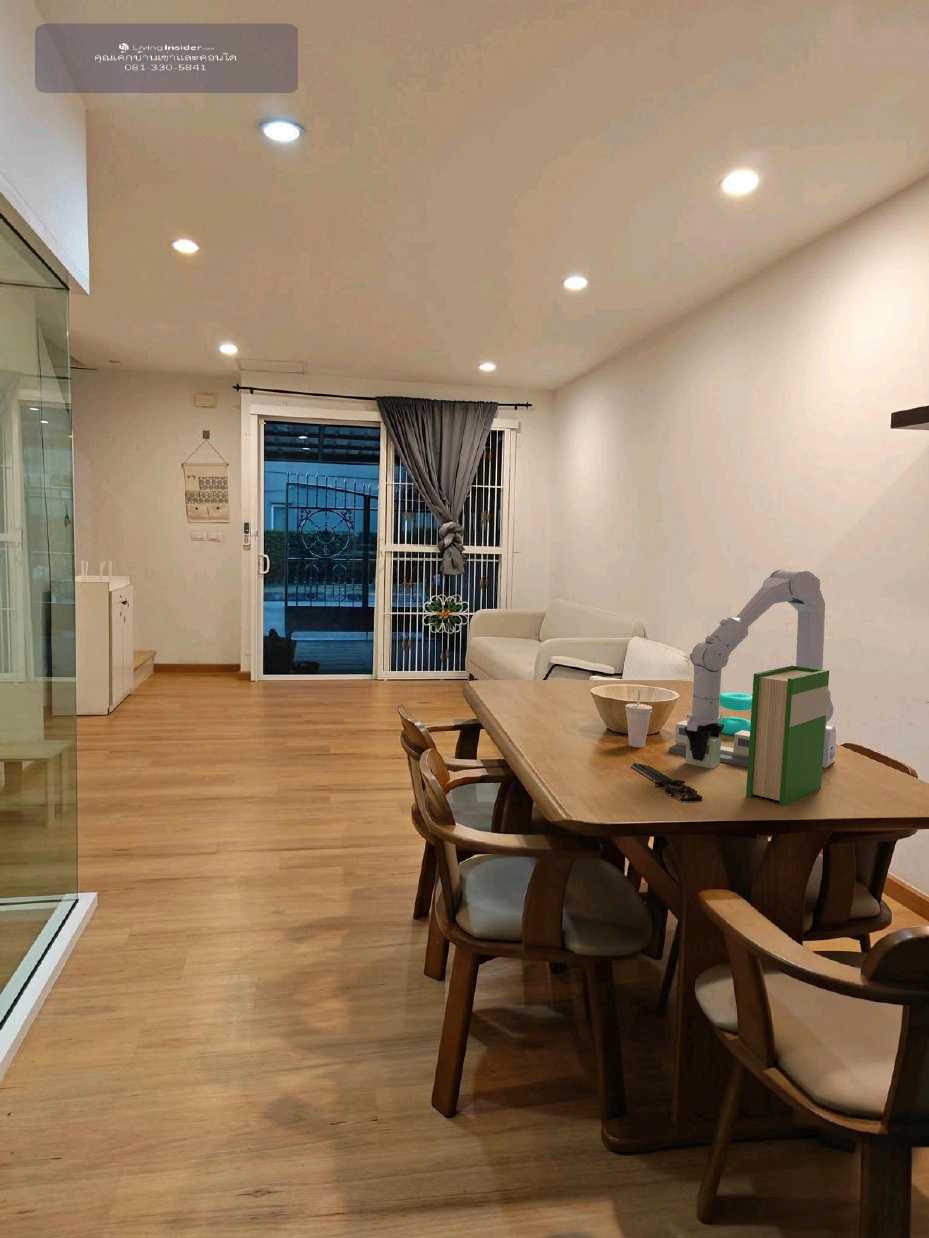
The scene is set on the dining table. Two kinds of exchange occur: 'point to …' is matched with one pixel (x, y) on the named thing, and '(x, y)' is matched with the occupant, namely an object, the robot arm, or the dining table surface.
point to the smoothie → (638, 722)
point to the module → (706, 753)
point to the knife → (664, 781)
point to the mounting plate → (727, 754)
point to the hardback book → (787, 733)
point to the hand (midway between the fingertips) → (702, 757)
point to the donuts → (735, 703)
